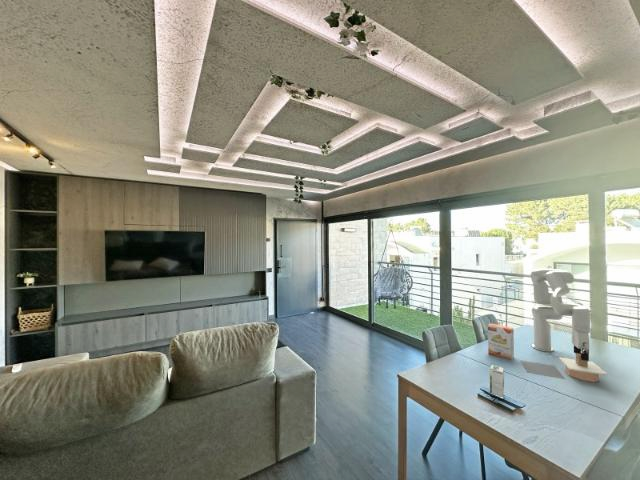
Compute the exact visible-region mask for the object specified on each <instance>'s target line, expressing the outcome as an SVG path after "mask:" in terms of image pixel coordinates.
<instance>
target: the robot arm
mask: <svg viewBox="0 0 640 480" xmlns="http://www.w3.org/2000/svg"><path fill="white" fill-rule="evenodd" d="M530 280H531V282H532V286H533V299H534V302H535V304H539V305H536V306H533V307H532V308H531V313H532V318H533V340H534V341H533V343H532V344H531V347H532V348H533V349H534V350H538V351H542V352H554V351H555V349H554V347H552V340H551V339H552V335H551V334H552V332H551V331H552V329H551V325H550V323H549V322H548V321H549V320H550V321H551V320H553V321H556V320H557V321H559V320H560V321H561V320H562V319H563V316H564V317H566V316H567V317H571V319H572V320H571V324H572V325H571V330H572V331H571V332H572V333H571V344H572V345H573V353H574V354H576V353H579V354H581V360H584V361H589V362H590V335H589V334H590V333H591V310H590V309H589V308H587V307H584V306H583V305H582V304H578V303H565V302H564V303H563V298H562V297H563V296H565V295H568V294H569V293H570V291H571V290H570V287H569V286H568V284H569V285H570V284H573V283H574V281H575V277H574V275H573V274H572V273H571V272H570V271H567V270H562V269H557V268H556V269H555V268H554V269H553V268H552V269H551V268H548V269H546V268H537V269H534V270H532V271H531V273H530ZM549 286H550V287H549ZM549 288H551V291H549V290H550V289H549ZM546 305H547V306H546ZM549 305H550V306H549ZM547 320H548V321H547Z"/></svg>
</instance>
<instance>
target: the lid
mask: <svg viewBox="0 0 640 480" xmlns="http://www.w3.org/2000/svg"><path fill="white" fill-rule="evenodd" d="M558 359H559V360H560V361H561V363H562V364H564V366H565V367H566V366H567V368H568V369H569V370H575V371H581V372H587V373H594V374H599V376H607V377H608V375H609V374H608V373H607V372H606V371H605V370H603V369H602V368H601V367H600V366H599V365H597V364H596V362H594V361H590V360H589V361H584V360H581V354H579V353H575V358H568V357H560V356H559V357H558Z"/></svg>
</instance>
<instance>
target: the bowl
mask: <svg viewBox="0 0 640 480" xmlns="http://www.w3.org/2000/svg"><path fill="white" fill-rule="evenodd" d="M565 373H567V374H568V376H569V377H570V376H571V377H573V378H575V379H578V380H580V381H584V382H592V383H594V382H595V383H596V382H598V381H600V374H594V373H587V372H581V371H575V370H569V369H568V368H567V366H566V365H565Z"/></svg>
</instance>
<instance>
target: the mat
mask: <svg viewBox="0 0 640 480" xmlns="http://www.w3.org/2000/svg"><path fill="white" fill-rule="evenodd" d="M519 362H520V363H521V366H522V367H523V368H524V370H525V372H526V373H527V374H531V375H532V374H534V375H540V376H544V377H550V378H556V379H561V380H566V378H565V377H564V375H563V374H562V373H561V372H560V371H559V369H558V368H557V367H556V366H555V365H551V364H546V363H539V362H535V361H534V362H532V361H527V360H521V359H520V360H519Z"/></svg>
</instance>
